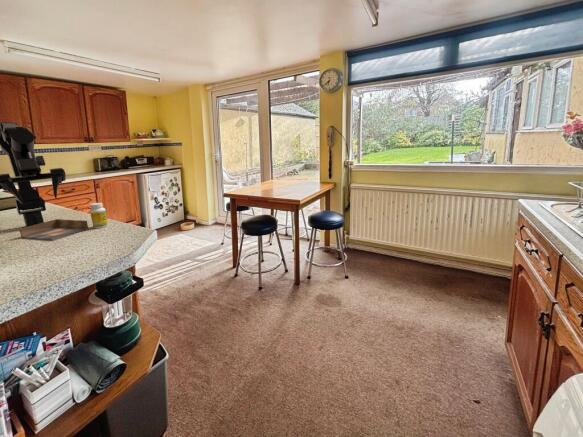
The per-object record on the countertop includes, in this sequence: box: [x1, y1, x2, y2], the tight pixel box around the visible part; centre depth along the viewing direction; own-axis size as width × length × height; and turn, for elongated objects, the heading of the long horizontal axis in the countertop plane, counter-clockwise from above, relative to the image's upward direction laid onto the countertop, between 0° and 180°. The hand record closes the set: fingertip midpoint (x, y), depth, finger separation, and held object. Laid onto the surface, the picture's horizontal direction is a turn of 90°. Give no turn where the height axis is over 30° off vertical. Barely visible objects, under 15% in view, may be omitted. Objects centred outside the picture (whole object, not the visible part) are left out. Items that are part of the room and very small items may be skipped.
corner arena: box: [19, 218, 89, 242], centre depth 118 cm, size 16×14×4 cm
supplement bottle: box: [89, 202, 109, 229], centre depth 124 cm, size 5×5×10 cm
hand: (39, 200), depth 104 cm, fingers open, 9 cm apart
